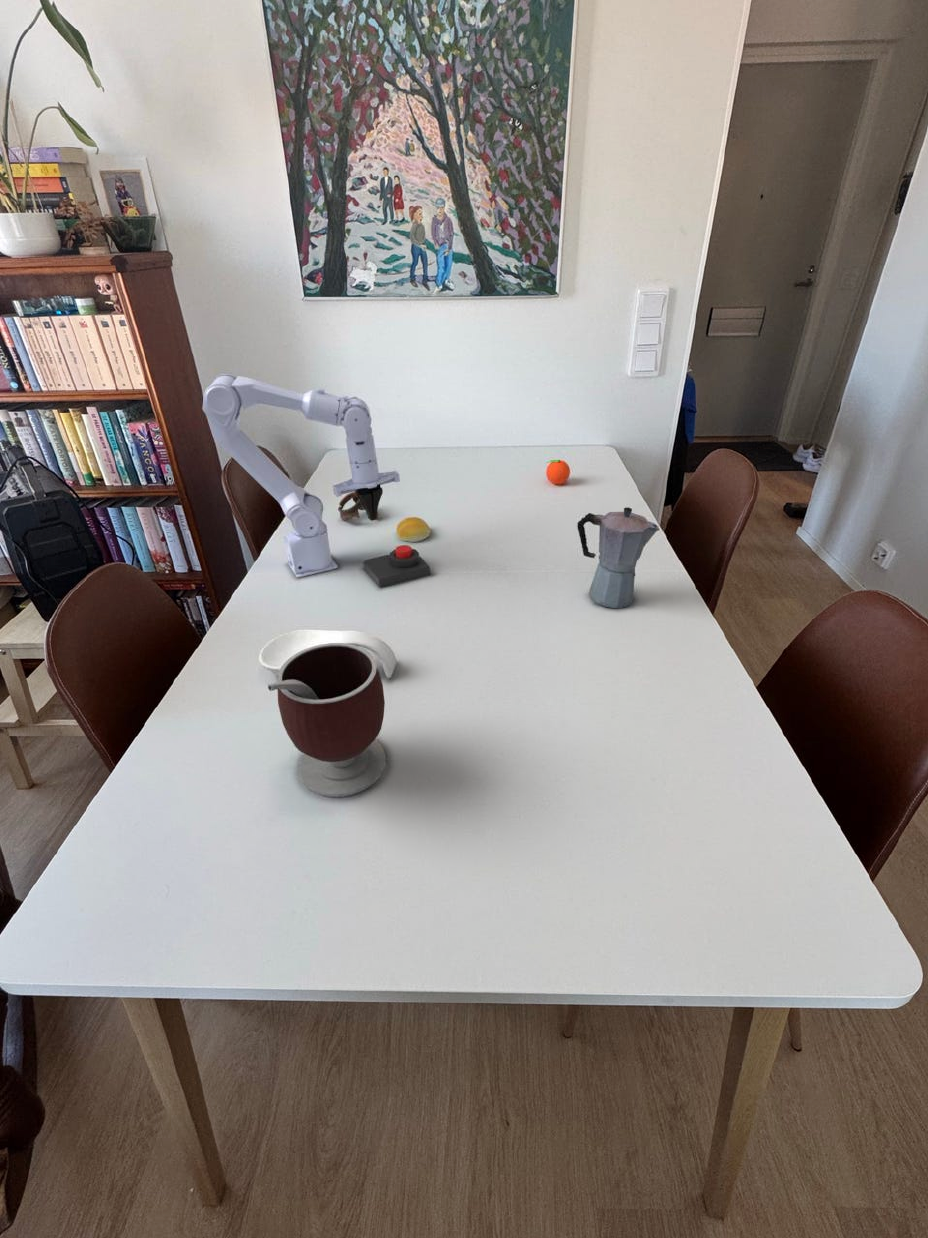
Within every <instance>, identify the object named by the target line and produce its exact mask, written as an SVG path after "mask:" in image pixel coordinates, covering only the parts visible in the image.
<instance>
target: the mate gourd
mask: <svg viewBox="0 0 928 1238" xmlns="http://www.w3.org/2000/svg"><path fill="white" fill-rule="evenodd" d="M381 677H382V676H381V673H380V671H379V668H378V666H377V661H376V659H375V657H374V656H373V654H372V653H370V651H369V650H368V649H367V650H366V648H363V647H360V646H356V645H352V644H345V643H328V644H321V645H317V646H313V647H310V648H307V649H304V650H302V651H300V652H298V653H296V654H295V655H293V656H292V657H290V658H289V659H288V660H287V661H286V662H285V663H284V664H283V665H282V667H281V668H280V670H279V673H278V674H277V678H276V679H277V680H276V682H274V683H273V682H272V683H269V684H267V689H268V691H270V692H274V691H275V690H277V705H278V709H279V714H280V718H281V722H282V725H283V727H284V730H285V732H286V735H287V736H288V737H289V739H290V740H291V742H292V745H294V747H295V749H297V750H298V751H299V752H300V753H302V754H303V755H302V758H301V760H300V762H299V775H300V777H301V781H302V782H303V784H304V786H305V787H306V788H307V789H308V790H309V791H311V792H313V793H314V794H317V795H320V796H323V797H328V798H342V797H350V796H352V795H356V794H358V793H361V792H363V791H365V790H367V789H368V788H369V787H371V786H372V785H373V784H375V783H376V782H377V781H378V780H379V778H380V777H381V775H382V774H383V772H384V770H385V767H386V761H387V760H386V754H385V750H384V747H383V746H382V744H381V743H380V742H379V741H378V740H377V737H378V736H379V734H380V733H381V730H382V726H383V722H384V717H385V706H386V704H385V703H386V702H385V701H386V700H385V693H384V684H383V680H382V678H381Z"/></svg>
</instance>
